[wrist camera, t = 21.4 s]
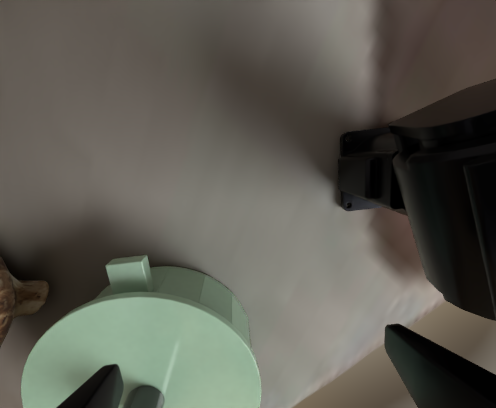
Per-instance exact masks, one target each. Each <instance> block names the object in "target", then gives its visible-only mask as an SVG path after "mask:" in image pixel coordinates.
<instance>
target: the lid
mask: <svg viewBox="0 0 496 408" xmlns="http://www.w3.org/2000/svg"><path fill="white" fill-rule="evenodd" d="M110 364H118V365H119V368H120V371H121V375H122V379H123V382H124V390H123V394H122V397H121V401H120V404H119V408H259V406H260V400H261V378H260V372H259V367H258V363H257V360H256V358H255V355H254V352H253V351H252V349H251V347H250V345H249V344H248V342H247V340H246V339H245V338H244V337H243V335H242V334H241V333H240V331H239V330H238V329H237V328H236V327H235V326H234V325H233V324H232V323H230V322H229V321H228V320H227V319H225V318H224V317H223V316H221V315H220V314H219V313H217V312H216V311H214V310H212V309H210V308H208V307H207V306H205V305H203V304H200V303H198V302H195V301H193V300H190V299H187V298H183V297H180V296H176V295H172V294H165V293H159V292H128V293H120V294H115V295H109V296H105V297H102V298H99V299H96V300H93V301H90V302H88V303H86V304H84V305H81V306H79V307H77V308H75V309H74V310H72V311H71V312H69V313H67V314H66V315H64V316H63V317H62V318H60V319H59V320H58V321H57V322H56V323H55V324H53V325H52V326H51V327H50V328H49V329H48V330H47V331H46V332H45V333H44V334H43V335H42V337H41V338H40V339H39V340H38V341H37V343H36V344H35V346H34V347H33V349H32V351H31V352H30V354H29V356H28V359H27V361H26V363H25V366H24V369H23V374H22V379H21V397H22V404H23V408H56V407H58V406H59V405H60V404H61V403H62V402H63V401H64V400H65V399H67V398H68V397H69V396H70V395H71V394H72V393H73V392H74V391H76V390H77V389H78V388H79V387H80V386H81V385H82V384H83V383H84V382H86V381H87V380H88V379H89V378H90V377H91V376H92V375H93V374H95V373H96V372H97V371H98V370H99V369H100V368H101V367H103V366H105V365H110Z"/></svg>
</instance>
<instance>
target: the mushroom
mask: <svg viewBox="0 0 496 408" xmlns="http://www.w3.org/2000/svg"><path fill="white" fill-rule="evenodd" d="M48 293H49V285H48V283H47V282H45V281H23V280H17V279H16V278H14V277H13V276H12V275H11V274H10V273H9V271H8V269H7V267H6V265H5V263H4V261H3V260H2V258H1V256H0V347H1V345H2V343H3V341H4V339H5V337H6V335H7V333H8V330H9V328H10V326H11V323H12V321H13V319H14V318H15V317H18V316H25V315H32V314H34V313H35V312H37V311H38V310H39V309H40V308H41V307H42V306H43V305H44V304H45V302H46V299H47V297H48Z"/></svg>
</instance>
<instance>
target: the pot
mask: <svg viewBox="0 0 496 408" xmlns="http://www.w3.org/2000/svg"><path fill="white" fill-rule="evenodd" d="M105 267H106V270H107V274H108V278H109V282H110V285H109V286H107V287H106V288H105V289H104V290H103V291H102V292H101V293H100V294H99V295H98V296H97V297H96V298H95V299H94V300H96V299H99V298H102V297H105V296H109V295H115V294H120V293H128V292H159V293H165V294H172V295H176V296H180V297H183V298H187V299H190V300H193V301H195V302H198V303H200V304H203V305H205V306H207V307H208V308H210V309H212V310H214V311H216V312H217V313H219V314H220V315H221V316H223V317H224V318H225V319H227V320H228V321H229V322H230V323H232V324H233V325H234V326H235V327H236V328H237V329H238V330H239V331H240V333H241V334H242V335H243V337H244V338H245V339H246V340H247V342H248V344H249V345H250V347H251V339H250V331H249V322H248V316H247V315H246V313H245V311H244V309H243V308H242V306H241V304H240V302H239V301H238V300H237V298H236V297H235V296H234V295H233V293H232V292H231V291H229V289H228V288H226V287H225V286H224V285H222V284H221V283H220V282H219V281H217V280H215V279H213V278H212V277H210V276H208V275H206V274H203V273H201V272H198V271H195V270H191V269H187V268H181V267H172V266H162V267H152V268H150V266H149V262H148V257H147V255H142V256H134V257H125V258H117V259H112V260H111V261H110V262H109V263H108V264H107V265H106V266H105ZM251 349H252V348H251Z"/></svg>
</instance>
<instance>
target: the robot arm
mask: <svg viewBox="0 0 496 408" xmlns="http://www.w3.org/2000/svg"><path fill="white" fill-rule="evenodd" d="M388 125H389V128H379V129H370V130H360V131H351V132H345V133H343V134H342V135H341V138H340V152H341V157H340V158H339V160H338V174H339V189H340V190H341V206H342V208H343V209H344V210H346V211H354V210H362V209H370V208H379V207H384V208H387V209H390V210H393V211H396V212H398V213H401V214H404V215H407V216H408V219H409V222H410V225H411V229H412V232H413V236H414V239H415V243H416V246H417V249H418V253H419V256H420V260H421V263H422V266H423V269H424V272H425V275H426V278H427V279H428V280H429V282H430V283H431V284H432V285H433V286H434V287H435V288H436V289H437V290H438V291H439V292H441V293H442V294H443V297H444V299H445V300H446V301H448V302H450V303H452V304H453V305H455V306H457V307H459V308H461V309H463V310H465V311H468V312H471V313H473V314H476V315H479V316H481V317H484V318H487V319H491V320H495V321H496V79H493V80H490V81H487V82H484V83H481V84H478V85H475V86H472V87H469V88H466V89H463V90H461V91H459V92H457V93H454V94H452V95H450V96H448V97H446V98H444V99H441V100H439V101H437V102H435V103H433V104H431V105H428V106H426V107H424V108H422V109H420V110H418V111H415V112H413V113H411V114H409V115H407V116H405V117H402V118H400V119H398V120H396V121H394V122H392V123H390V124H388ZM347 135H348V136H349V141H346V136H347ZM347 203H350V205H349V206H348V207H346V204H347ZM385 349H386V352H387V354H388V356H389V358H390V359H391V361H392V363H393V365H394V366H395V368H396V370H397V372H398V374H399V375H400V377H401V379H402V381H403V382H404V384H405V386H406V388H407V389H408V391H409V393H410V395H411V397H412V398H413V400H414V402H415V403H416V405H417V407H418V408H496V375H495V374H493V373H491V372H489V371H487V370H485V369H483V368H482V367H479V366H478V365H476V364H474V363H472V362H470V361H468V360H466V359H464V358H463V357H461V356H459V355H457V354H455V353H453V352H451V351H449V350H448V349H446V348H444V347H442V346H440V345H438V344H436V343H434V342H432V341H430V340H429V339H426V338H425V337H423V336H421V335H419V334H417V333H415V332H413V331H411V330H410V329H408V328H406V327H404V326H402V325H400V324H391V325H387V326H386V327H385ZM123 390H124V382H123V379H122V375H121V371H120V368H119V365H118V364H110V365H105V366H103V367H101V368H100V369H99V370H98V371H97V372H96V373H95V374H93V375H92V376H91V377H90V378H89V379H88V380H87V381H86V382H84V383H83V384H82V385H81V386H80V387H79V388H78V389H77V390H76V391H74V392H73V393H72V394H71V395H70V396H69V397H68V398H67V399H65V400H64V401H63V402H62V403H61V404H60V405H59V406H58V407H56V408H119V404H120V401H121V397H122V394H123Z"/></svg>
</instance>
